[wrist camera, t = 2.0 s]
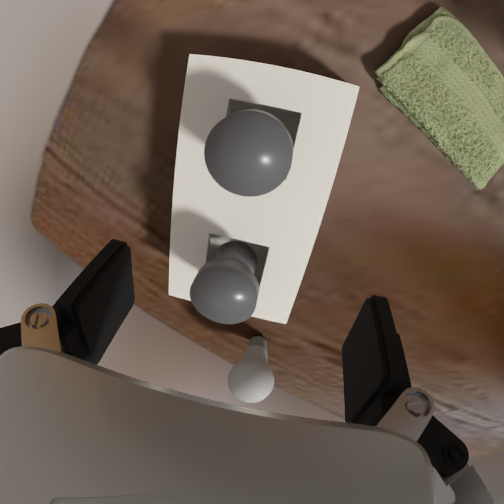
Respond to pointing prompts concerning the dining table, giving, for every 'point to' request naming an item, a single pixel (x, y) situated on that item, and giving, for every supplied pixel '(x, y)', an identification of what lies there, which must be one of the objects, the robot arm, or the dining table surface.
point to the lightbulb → (252, 373)
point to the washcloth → (450, 94)
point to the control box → (267, 205)
